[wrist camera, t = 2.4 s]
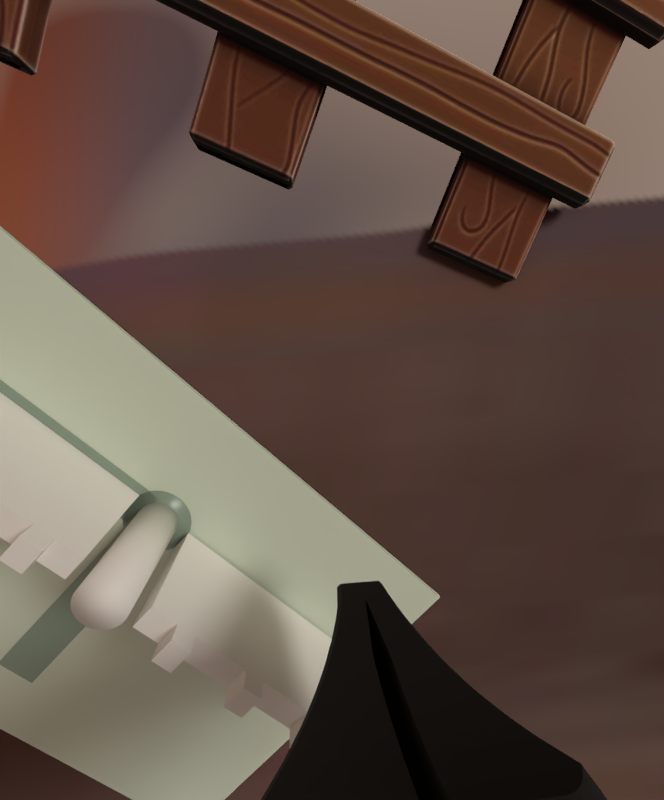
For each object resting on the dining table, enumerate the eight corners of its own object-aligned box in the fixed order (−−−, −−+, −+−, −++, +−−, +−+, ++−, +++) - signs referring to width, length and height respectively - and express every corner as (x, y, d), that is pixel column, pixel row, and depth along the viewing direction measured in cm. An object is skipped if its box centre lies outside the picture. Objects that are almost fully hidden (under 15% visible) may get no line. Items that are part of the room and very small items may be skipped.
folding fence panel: (173, 548, 16) (123, 643, 11) (188, 533, 15) (144, 622, 11) (319, 653, 17) (327, 772, 13) (333, 640, 17) (346, 755, 13)
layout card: (191, 825, 19) (190, 831, 19) (-307, 556, 14) (-317, 560, 14) (438, 594, 18) (440, 597, 17) (-29, 201, 13) (-35, 199, 12)
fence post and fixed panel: (161, 546, 16) (105, 640, 11) (-73, 378, 14) (-259, 411, 9) (186, 519, 15) (141, 603, 11) (-46, 345, 13) (-221, 361, 9)
